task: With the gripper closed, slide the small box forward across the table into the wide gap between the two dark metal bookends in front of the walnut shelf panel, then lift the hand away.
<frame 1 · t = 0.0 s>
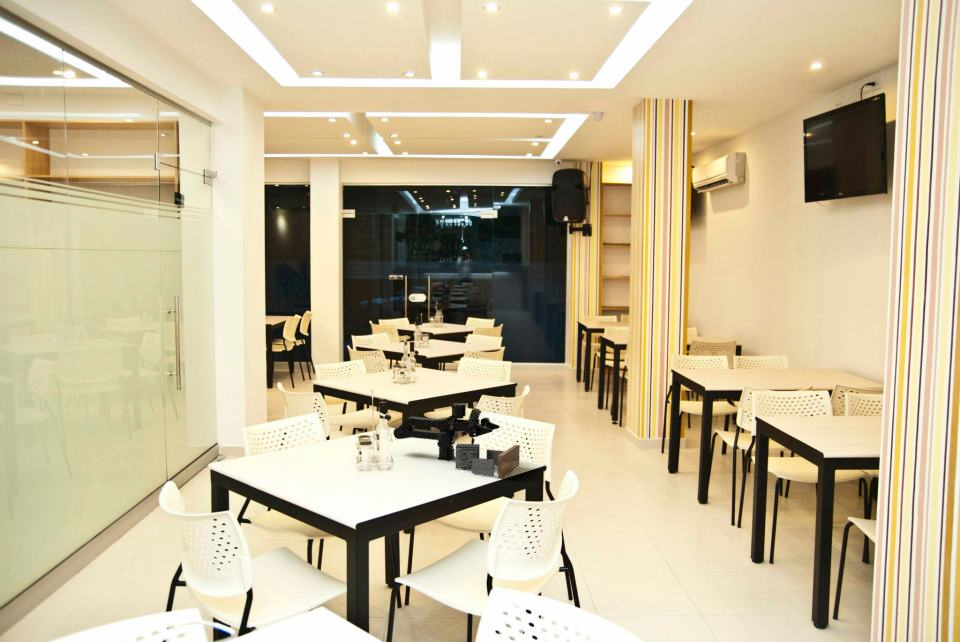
hand: (496, 428, 322), 17 cm above the table, tool horizontal, fingers open, 9 cm apart
shelf panel: (508, 472, 308), on the table
bookend 2: (497, 465, 320), on the table
small box: (467, 468, 316), on the table
bookend 1: (482, 474, 304), on the table
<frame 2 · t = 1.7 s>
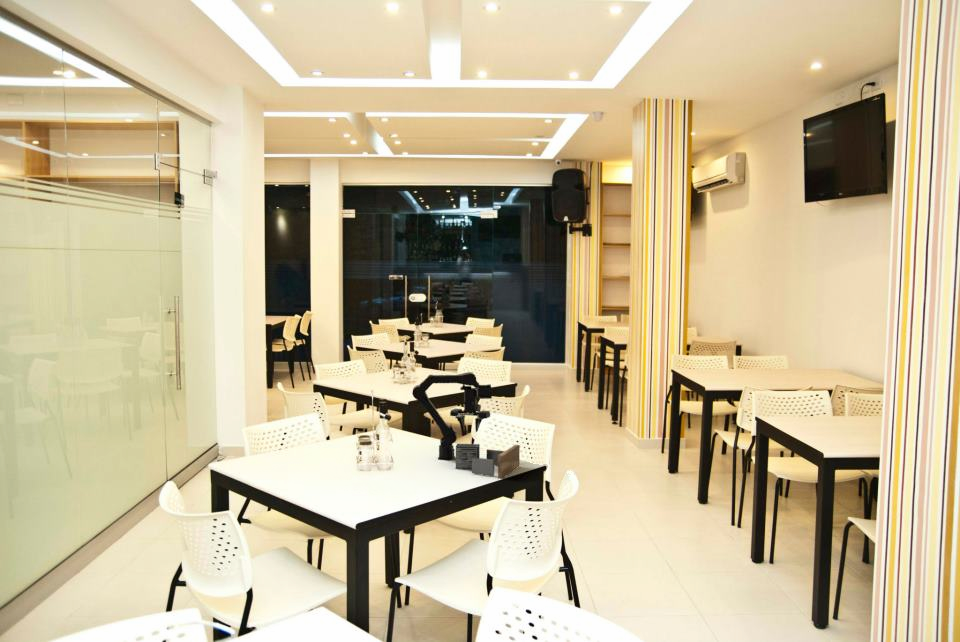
hand: (470, 431, 333), 13 cm above the table, tool pointing down, fingers open, 6 cm apart
nothing on the table moved.
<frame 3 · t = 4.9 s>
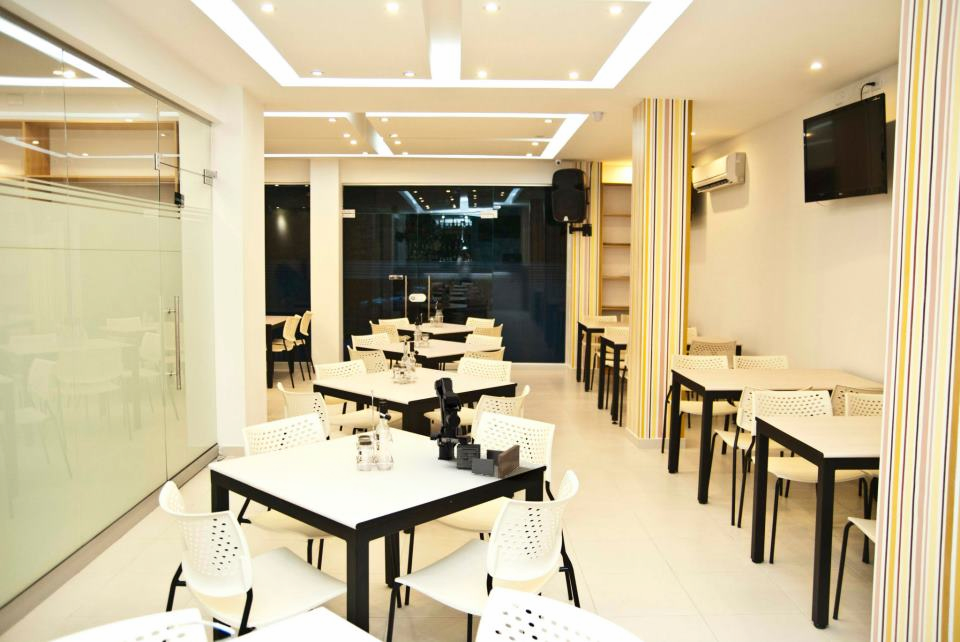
hand: (450, 456, 319), 4 cm above the table, tool pointing down, fingers closed
small box: (468, 468, 316), on the table, touching gripper
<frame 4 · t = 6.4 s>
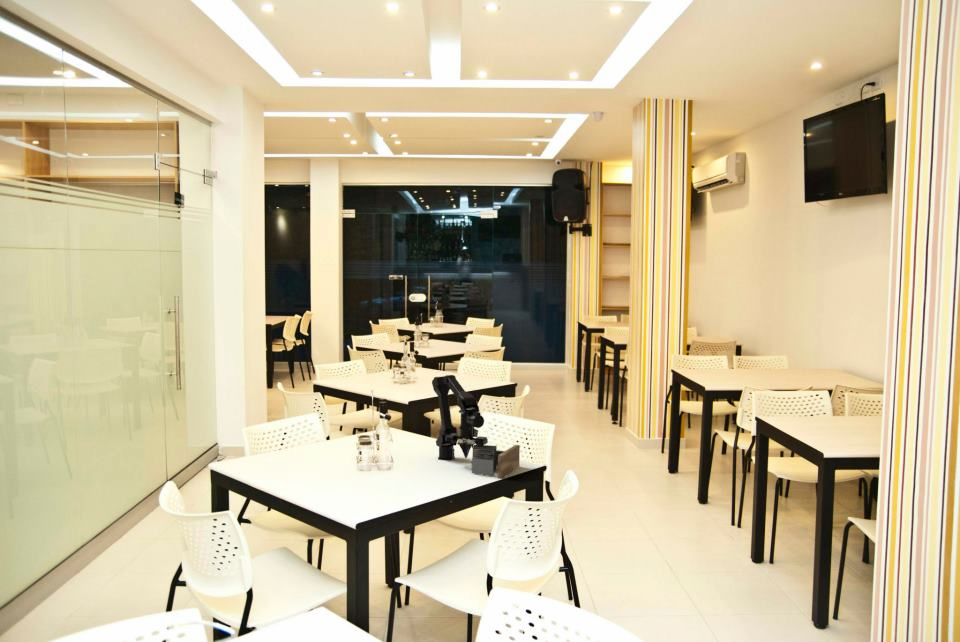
hand: (466, 457, 316), 4 cm above the table, tool pointing down, fingers closed
small box: (484, 469, 313), on the table, touching gripper
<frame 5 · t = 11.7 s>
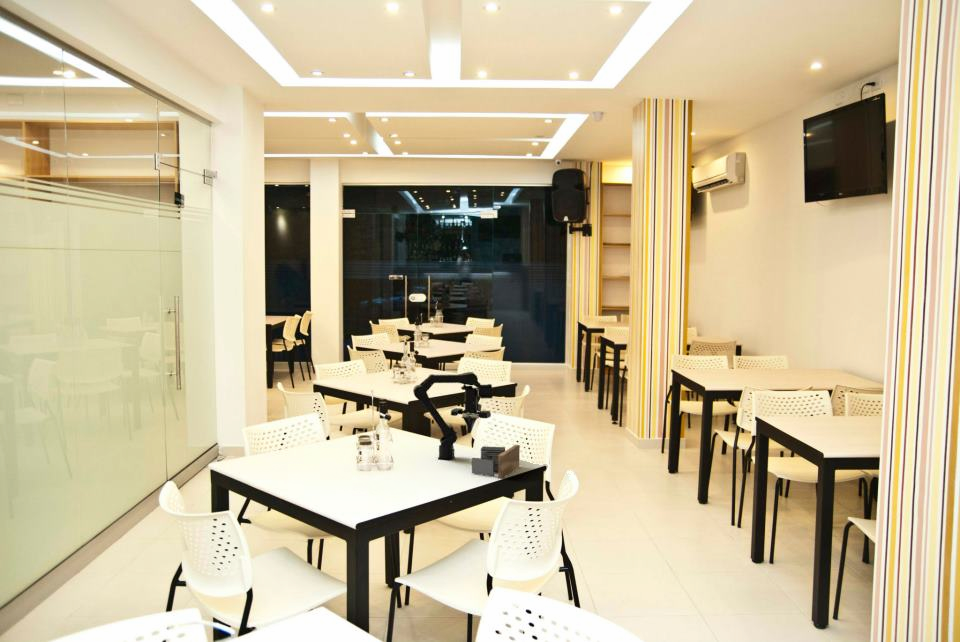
hand: (470, 431, 333), 13 cm above the table, tool pointing down, fingers closed
small box: (493, 471, 311), on the table
at the end: small box inside the target area (2.4 cm from its centre), on the table; small box tilted 0°; small box moved 12.6 cm from its start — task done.
